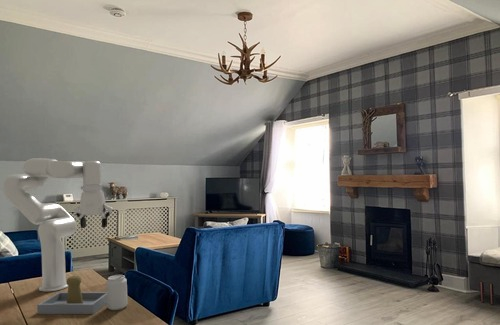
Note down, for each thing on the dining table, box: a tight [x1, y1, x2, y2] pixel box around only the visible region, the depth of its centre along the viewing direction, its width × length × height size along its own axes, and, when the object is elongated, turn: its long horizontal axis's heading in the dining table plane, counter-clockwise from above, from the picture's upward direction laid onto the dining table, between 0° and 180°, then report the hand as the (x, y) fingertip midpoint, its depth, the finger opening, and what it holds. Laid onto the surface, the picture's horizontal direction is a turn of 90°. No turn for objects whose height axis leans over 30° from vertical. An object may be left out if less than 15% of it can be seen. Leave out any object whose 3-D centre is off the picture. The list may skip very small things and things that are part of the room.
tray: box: [37, 291, 107, 315], centre depth 150 cm, size 22×14×4 cm, turn 85°
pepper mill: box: [66, 275, 83, 304], centre depth 150 cm, size 6×6×11 cm
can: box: [105, 274, 128, 311], centre depth 148 cm, size 8×8×12 cm
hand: (93, 227), depth 169 cm, fingers open, 9 cm apart
